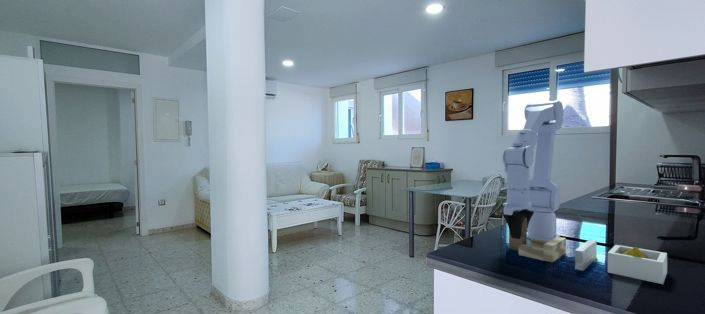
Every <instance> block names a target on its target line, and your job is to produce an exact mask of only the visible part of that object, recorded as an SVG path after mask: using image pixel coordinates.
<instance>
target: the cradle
mask: <svg viewBox="0 0 705 314" xmlns="http://www.w3.org/2000/svg"><path fill="white" fill-rule="evenodd" d="M566 253H567V239H566V237H561V236H560V237H556V238H554V239H553V240H551V241H546V240H541V239H535V238H533V239H530V245H523V244H522V245H520V246H519V251H518V256H522V257H526V258H530V259H534V260H539V261H545V262H549V263H554V262H556V261H557V260H558V259H559V258H561V257H562V256H563V255H565V254H566Z"/></svg>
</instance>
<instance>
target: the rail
mask: <svg viewBox="0 0 705 314" xmlns="http://www.w3.org/2000/svg"><path fill="white" fill-rule="evenodd" d="M597 252H598V251H597V240H595V239H588V240H586V241H585V242H584V243H583V244H581V245H580V246H579V247H577V248H576V249H575V250H574V265H575V266H574V270H576V271H580V272H581V271H582V272H584V271H585V270H586V269H587V268H588V267H589V266H590V265H591V264H592V263H593V262H594V261H595V260H596V259H598V258H597V254H598V253H597Z"/></svg>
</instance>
